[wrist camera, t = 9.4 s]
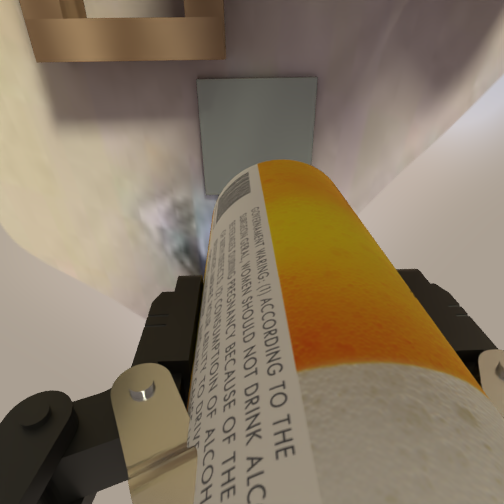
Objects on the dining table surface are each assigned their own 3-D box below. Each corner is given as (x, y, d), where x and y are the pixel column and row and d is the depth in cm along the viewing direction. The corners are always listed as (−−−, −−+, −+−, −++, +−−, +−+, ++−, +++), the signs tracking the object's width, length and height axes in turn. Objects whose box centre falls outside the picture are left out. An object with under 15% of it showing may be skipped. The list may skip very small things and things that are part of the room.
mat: (316, 76, 30) (317, 77, 29) (308, 190, 35) (309, 192, 34) (196, 79, 29) (196, 79, 29) (206, 192, 34) (205, 195, 34)
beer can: (284, 289, 19) (390, 808, 6) (188, 229, 17) (37, 820, 4) (366, 205, 17) (819, 752, 4) (266, 124, 15) (506, 714, 2)
